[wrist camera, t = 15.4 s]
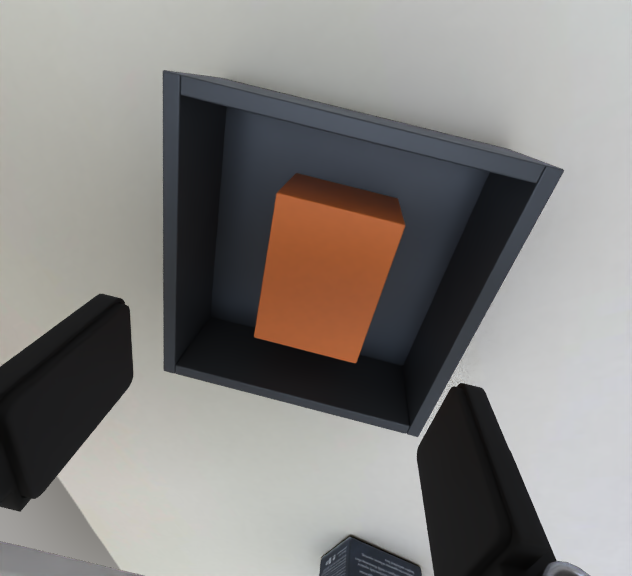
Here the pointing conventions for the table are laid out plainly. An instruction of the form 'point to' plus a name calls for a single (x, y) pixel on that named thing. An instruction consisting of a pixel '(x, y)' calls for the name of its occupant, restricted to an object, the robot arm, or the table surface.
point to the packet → (326, 265)
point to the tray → (351, 170)
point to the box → (364, 562)
